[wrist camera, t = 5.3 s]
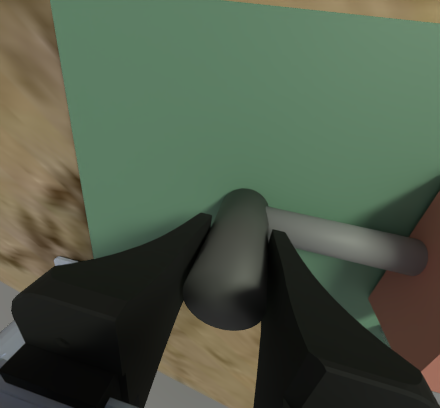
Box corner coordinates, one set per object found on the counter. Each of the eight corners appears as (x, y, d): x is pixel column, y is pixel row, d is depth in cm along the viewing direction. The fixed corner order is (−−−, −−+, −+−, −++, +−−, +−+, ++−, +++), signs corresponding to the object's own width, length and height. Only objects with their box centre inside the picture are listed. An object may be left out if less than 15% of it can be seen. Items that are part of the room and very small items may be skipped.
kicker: (406, 308, 15) (503, 463, 8) (213, 258, 16) (176, 359, 10) (507, 182, 10) (849, 310, 4) (233, 133, 12) (192, 173, 6)
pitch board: (517, 381, 17) (531, 397, 16) (103, 266, 21) (96, 273, 20) (963, 89, 8) (1053, 89, 7) (63, -11, 12) (47, -19, 11)
